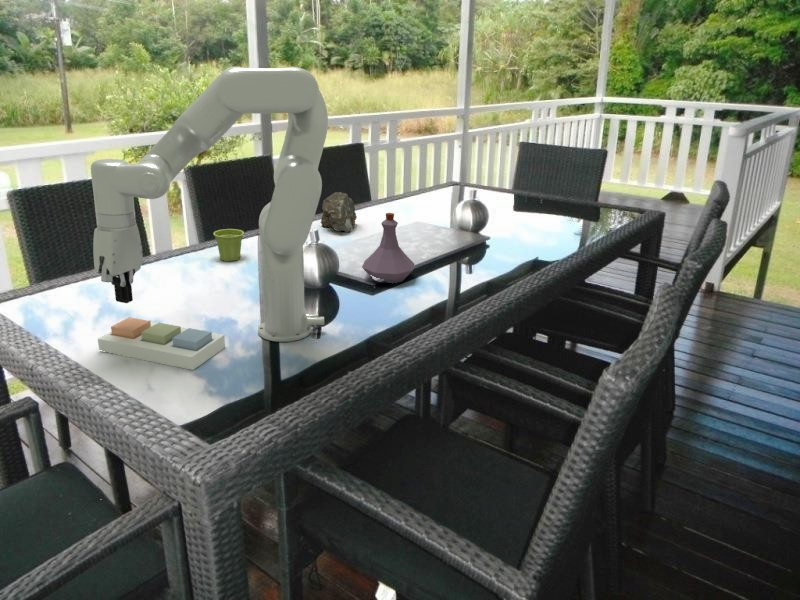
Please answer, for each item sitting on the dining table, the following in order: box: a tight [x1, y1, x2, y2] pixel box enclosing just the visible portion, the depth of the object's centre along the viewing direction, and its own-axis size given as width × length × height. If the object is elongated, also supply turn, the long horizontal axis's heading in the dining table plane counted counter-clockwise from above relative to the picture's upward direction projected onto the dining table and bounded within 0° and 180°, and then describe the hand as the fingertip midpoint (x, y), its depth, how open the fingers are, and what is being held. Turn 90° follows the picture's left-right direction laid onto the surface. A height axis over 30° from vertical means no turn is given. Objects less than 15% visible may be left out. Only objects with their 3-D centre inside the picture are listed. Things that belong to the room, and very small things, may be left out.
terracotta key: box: [110, 317, 152, 339], centre depth 141 cm, size 6×6×2 cm
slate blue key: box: [172, 327, 213, 351], centre depth 136 cm, size 6×6×2 cm
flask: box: [361, 212, 415, 285], centre depth 186 cm, size 16×16×20 cm
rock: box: [320, 191, 358, 233], centre depth 239 cm, size 18×14×15 cm
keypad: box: [97, 321, 226, 371], centre depth 139 cm, size 24×12×3 cm, turn 72°
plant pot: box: [213, 228, 245, 262], centre depth 201 cm, size 9×9×9 cm
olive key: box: [141, 322, 182, 345], centre depth 139 cm, size 6×6×2 cm
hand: (124, 301), depth 138 cm, fingers closed
